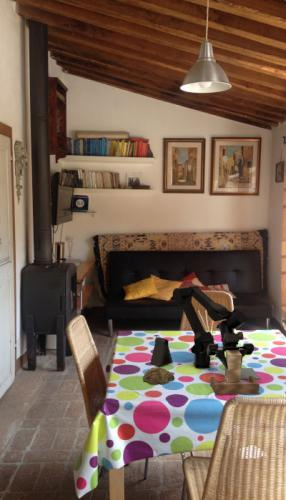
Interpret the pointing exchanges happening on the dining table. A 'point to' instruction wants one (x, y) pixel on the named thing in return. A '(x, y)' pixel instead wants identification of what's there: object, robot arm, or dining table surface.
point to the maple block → (233, 366)
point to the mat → (248, 374)
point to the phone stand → (161, 353)
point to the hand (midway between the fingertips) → (233, 368)
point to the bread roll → (158, 376)
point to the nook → (235, 387)
